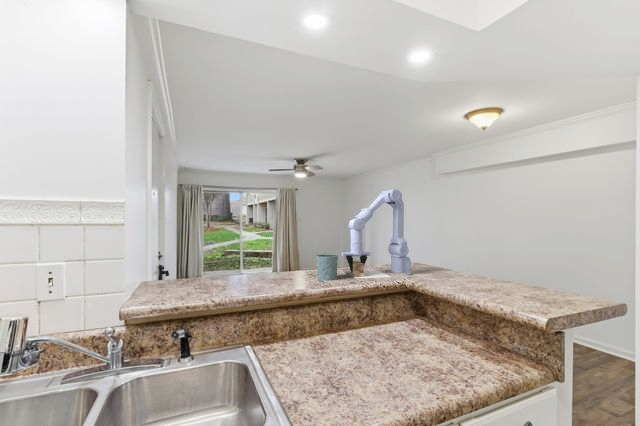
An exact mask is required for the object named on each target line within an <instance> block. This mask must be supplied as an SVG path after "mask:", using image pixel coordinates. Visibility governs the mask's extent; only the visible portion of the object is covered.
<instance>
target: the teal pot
mask: <svg viewBox="0 0 640 426" xmlns="http://www.w3.org/2000/svg"><path fill="white" fill-rule="evenodd" d="M315 260H316V261H315V262H316V269H317V281H318V283H321V282H322V284H325V281H326V282H327V281H336V280H337V279H338V261H339V255H338V254H335V253H325V254H324V253H322V254H316V255H315Z"/></svg>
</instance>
